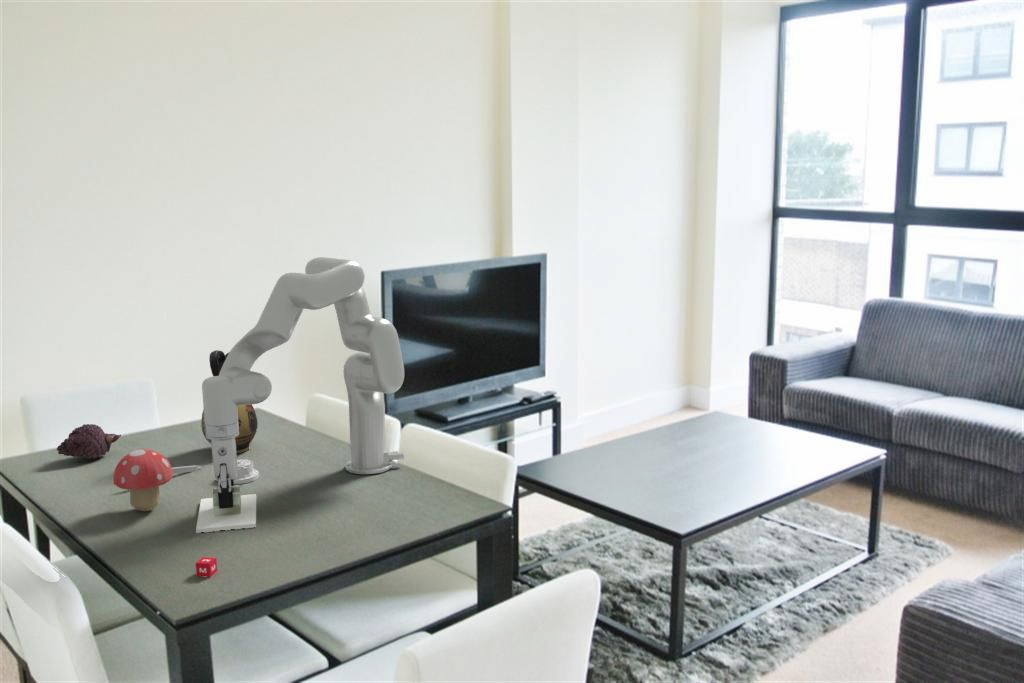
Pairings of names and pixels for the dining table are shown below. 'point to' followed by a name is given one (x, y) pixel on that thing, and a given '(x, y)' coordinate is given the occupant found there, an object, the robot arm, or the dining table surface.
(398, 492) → the dining table surface
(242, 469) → the mechanical component
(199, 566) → the dice
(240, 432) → the ceramic jug
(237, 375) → the robot arm
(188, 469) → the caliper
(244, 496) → the pin board
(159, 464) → the decorative mushroom
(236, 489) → the pale green open box
